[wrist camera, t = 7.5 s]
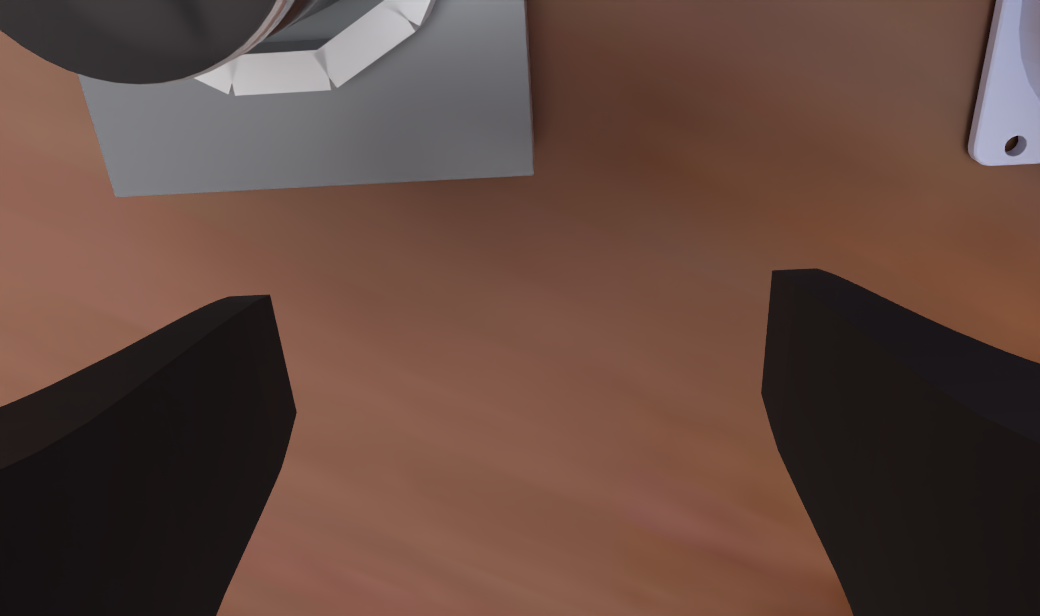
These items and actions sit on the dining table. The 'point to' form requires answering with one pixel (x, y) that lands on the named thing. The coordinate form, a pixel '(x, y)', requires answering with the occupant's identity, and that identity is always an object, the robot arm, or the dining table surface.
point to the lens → (147, 34)
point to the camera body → (335, 105)
